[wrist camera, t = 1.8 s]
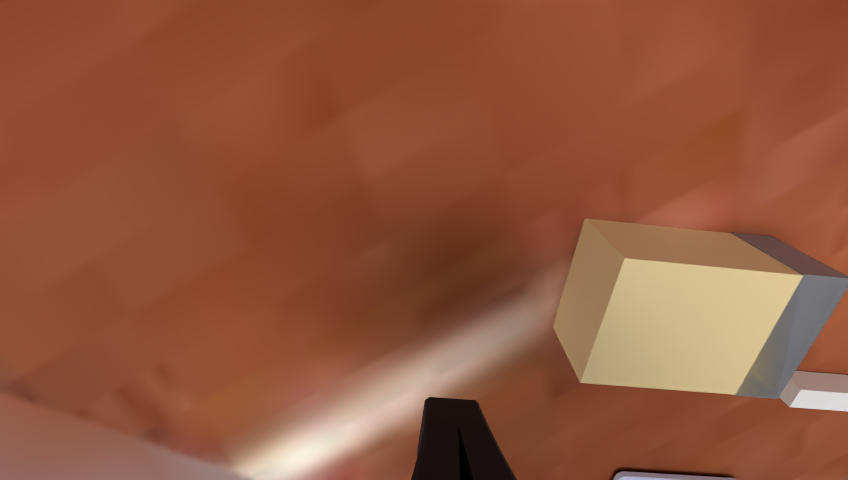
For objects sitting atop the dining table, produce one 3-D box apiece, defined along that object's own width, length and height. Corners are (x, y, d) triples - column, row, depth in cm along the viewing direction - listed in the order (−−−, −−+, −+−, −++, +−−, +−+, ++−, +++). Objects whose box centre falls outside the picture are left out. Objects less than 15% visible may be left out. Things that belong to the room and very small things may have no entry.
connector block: (717, 340, 22) (777, 398, 18) (551, 326, 21) (579, 383, 18) (771, 235, 19) (853, 279, 16) (584, 216, 19) (625, 256, 15)
